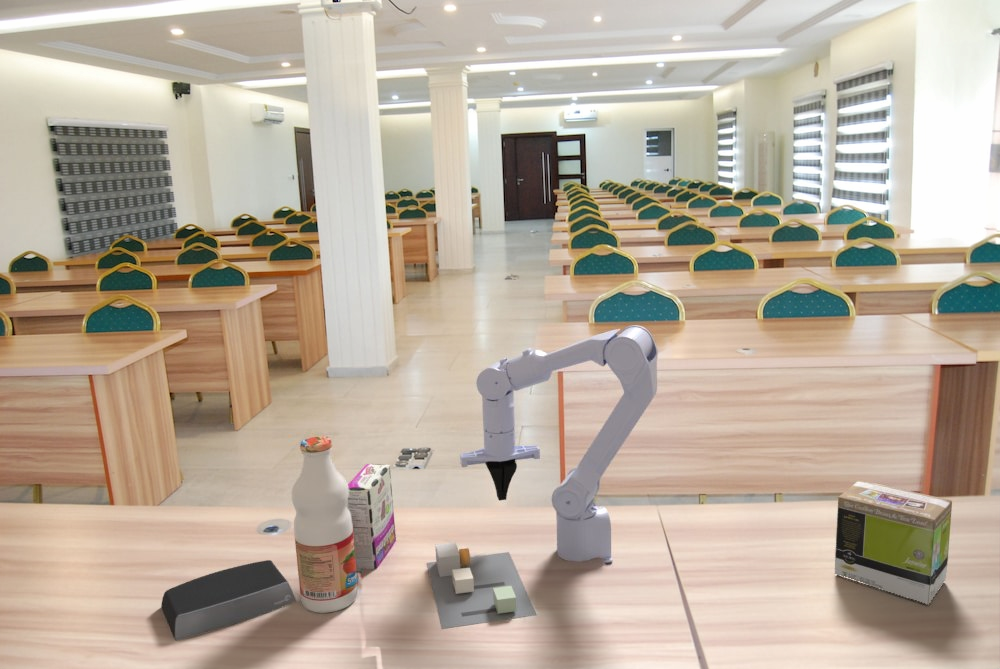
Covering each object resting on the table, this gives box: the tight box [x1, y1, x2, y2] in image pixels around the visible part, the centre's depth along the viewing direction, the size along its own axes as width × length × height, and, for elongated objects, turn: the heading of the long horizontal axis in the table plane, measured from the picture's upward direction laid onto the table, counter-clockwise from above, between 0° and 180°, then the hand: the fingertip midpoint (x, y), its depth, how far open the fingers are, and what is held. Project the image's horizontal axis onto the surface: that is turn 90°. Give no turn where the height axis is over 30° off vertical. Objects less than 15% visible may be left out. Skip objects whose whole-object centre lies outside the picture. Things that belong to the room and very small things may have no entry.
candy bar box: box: [347, 463, 397, 573], centre depth 146 cm, size 11×5×16 cm, turn 168°
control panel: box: [426, 541, 538, 630], centre depth 135 cm, size 15×21×5 cm
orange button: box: [458, 547, 471, 566], centre depth 142 cm, size 2×3×3 cm, turn 11°
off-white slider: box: [452, 568, 474, 594], centre depth 135 cm, size 3×4×2 cm
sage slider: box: [493, 586, 517, 614], centre depth 128 cm, size 3×4×2 cm
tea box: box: [834, 479, 953, 605], centre depth 134 cm, size 15×10×15 cm, turn 47°
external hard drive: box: [161, 559, 297, 641], centre depth 134 cm, size 13×19×4 cm
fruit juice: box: [291, 435, 359, 614], centre depth 132 cm, size 9×9×28 cm
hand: (501, 498), depth 150 cm, fingers closed
